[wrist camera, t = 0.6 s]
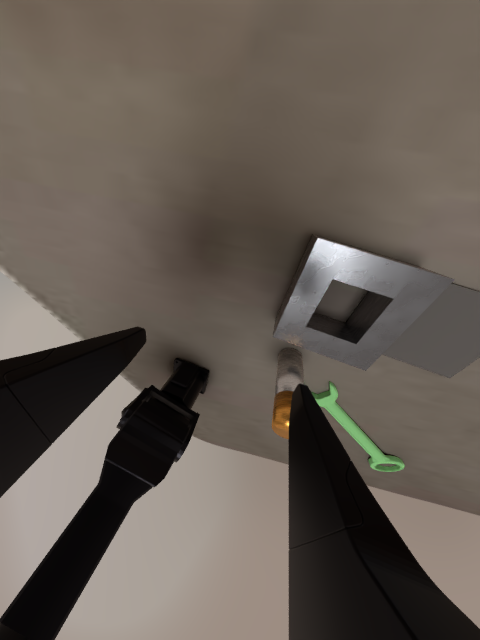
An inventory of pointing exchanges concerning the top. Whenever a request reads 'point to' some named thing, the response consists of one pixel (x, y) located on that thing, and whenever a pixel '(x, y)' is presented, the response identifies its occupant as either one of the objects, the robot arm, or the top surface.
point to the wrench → (356, 431)
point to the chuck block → (371, 314)
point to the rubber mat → (443, 334)
